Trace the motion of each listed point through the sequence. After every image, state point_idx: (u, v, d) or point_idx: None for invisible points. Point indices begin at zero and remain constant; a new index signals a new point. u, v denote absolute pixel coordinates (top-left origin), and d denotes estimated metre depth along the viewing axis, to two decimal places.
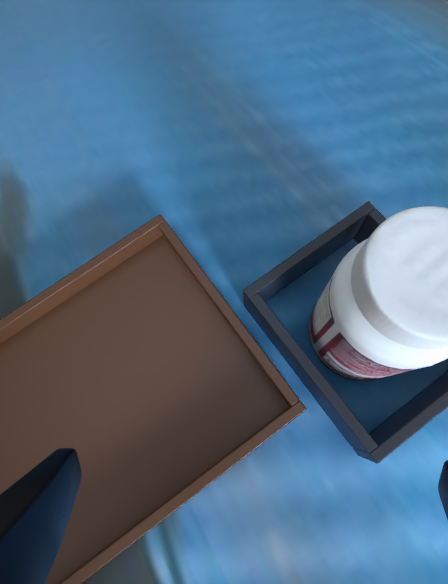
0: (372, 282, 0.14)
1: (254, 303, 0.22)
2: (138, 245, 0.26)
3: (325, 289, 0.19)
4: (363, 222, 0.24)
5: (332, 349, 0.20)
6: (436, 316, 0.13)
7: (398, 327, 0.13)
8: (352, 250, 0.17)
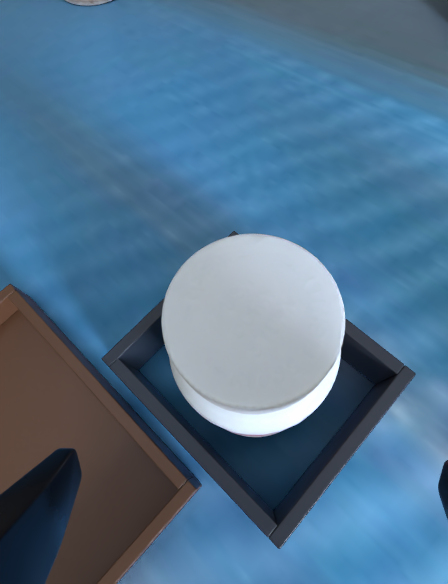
0: (171, 344, 0.10)
1: (115, 372, 0.18)
2: None
3: None
4: None
5: None
6: (254, 375, 0.10)
7: (211, 400, 0.10)
8: None
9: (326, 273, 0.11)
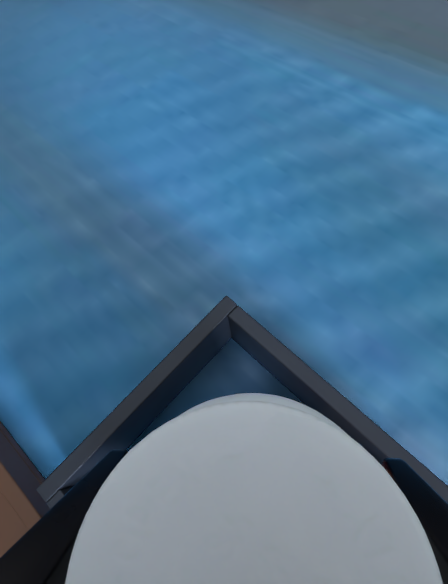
0: None
1: None
2: None
3: None
4: (229, 324, 0.16)
5: None
6: None
7: None
8: None
9: (403, 507, 0.05)
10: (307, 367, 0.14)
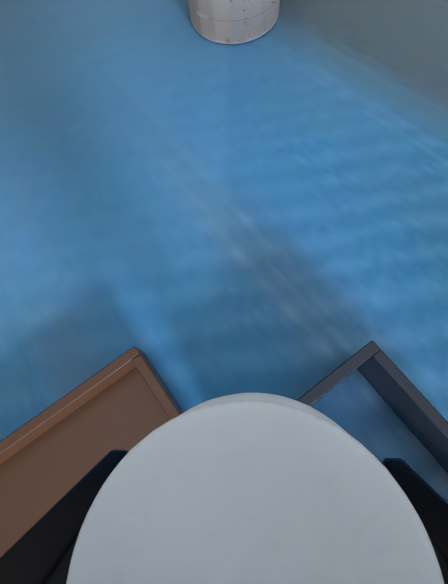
0: None
1: None
2: (110, 380, 0.22)
3: None
4: (367, 360, 0.21)
5: None
6: None
7: None
8: None
9: (404, 506, 0.05)
10: (431, 405, 0.19)
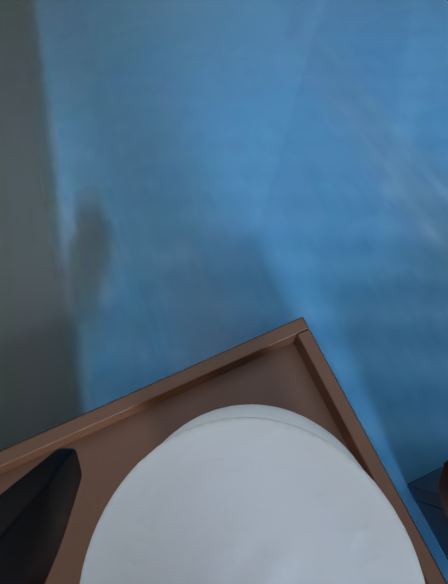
0: None
1: None
2: (259, 354, 0.17)
3: None
4: None
5: None
6: None
7: None
8: None
9: (391, 518, 0.06)
10: None
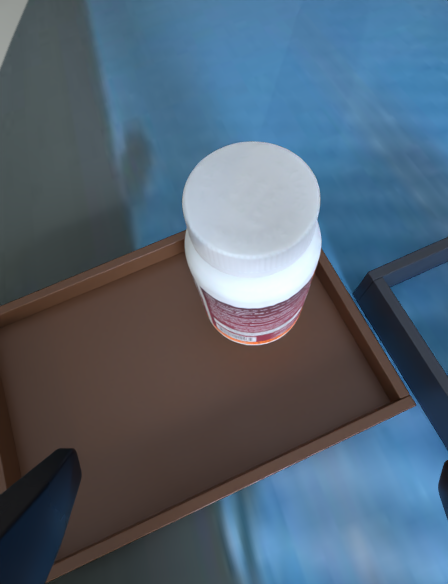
0: (190, 217, 0.14)
1: (378, 287, 0.21)
2: None
3: None
4: None
5: (212, 312, 0.20)
6: (251, 236, 0.13)
7: (220, 254, 0.14)
8: None
9: (307, 167, 0.14)
10: None
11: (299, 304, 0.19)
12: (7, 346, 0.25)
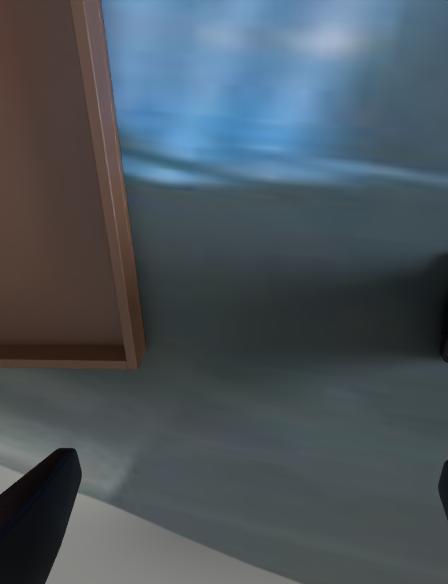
0: None
1: None
2: None
3: None
4: None
5: None
6: None
7: None
8: None
9: None
10: None
11: None
12: None
